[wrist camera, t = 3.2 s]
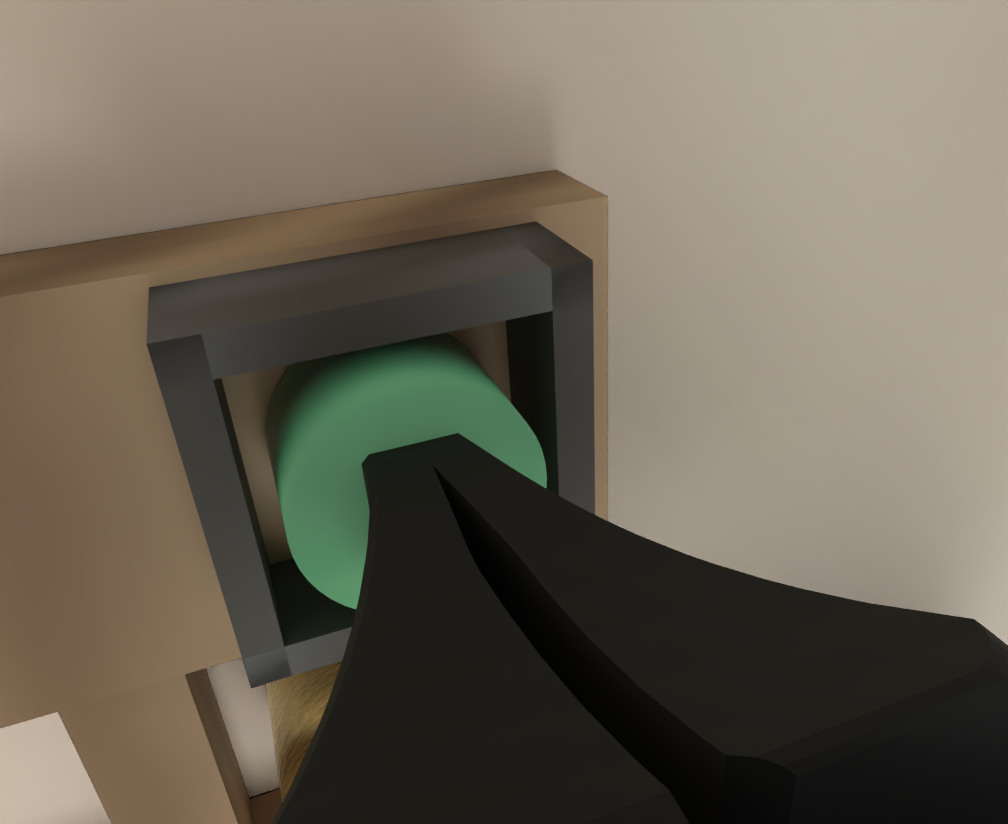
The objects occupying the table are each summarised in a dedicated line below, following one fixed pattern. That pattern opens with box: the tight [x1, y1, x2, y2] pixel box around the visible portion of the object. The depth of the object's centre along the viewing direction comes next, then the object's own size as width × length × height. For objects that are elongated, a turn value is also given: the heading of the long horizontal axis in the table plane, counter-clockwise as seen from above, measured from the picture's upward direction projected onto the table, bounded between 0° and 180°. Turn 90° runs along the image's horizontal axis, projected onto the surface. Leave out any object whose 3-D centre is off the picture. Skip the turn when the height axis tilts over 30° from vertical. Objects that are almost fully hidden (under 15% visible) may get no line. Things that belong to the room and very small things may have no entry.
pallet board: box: [0, 170, 608, 824], centre depth 14 cm, size 18×14×4 cm
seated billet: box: [266, 661, 342, 802], centre depth 15 cm, size 4×4×7 cm
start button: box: [266, 333, 547, 609], centre depth 12 cm, size 4×4×2 cm
